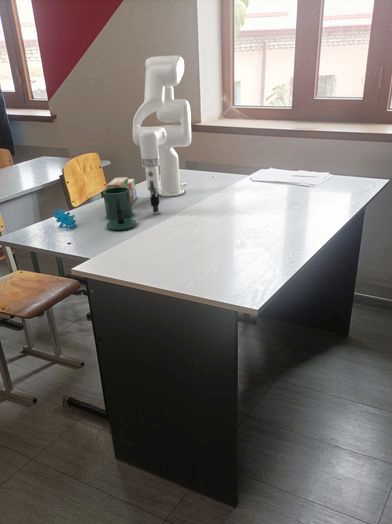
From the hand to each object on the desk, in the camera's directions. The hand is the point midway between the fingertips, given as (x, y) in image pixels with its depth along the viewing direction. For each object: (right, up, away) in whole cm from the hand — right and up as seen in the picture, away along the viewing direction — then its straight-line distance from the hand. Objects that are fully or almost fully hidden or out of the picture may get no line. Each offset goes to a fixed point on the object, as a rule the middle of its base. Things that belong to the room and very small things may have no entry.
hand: (155, 204), depth 225 cm
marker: (0, -3, +2) cm, 3 cm away
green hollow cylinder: (-16, -5, +2) cm, 17 cm away
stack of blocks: (-16, +5, +18) cm, 25 cm away
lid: (-14, -12, -10) cm, 21 cm away
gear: (-37, -12, -6) cm, 40 cm away
